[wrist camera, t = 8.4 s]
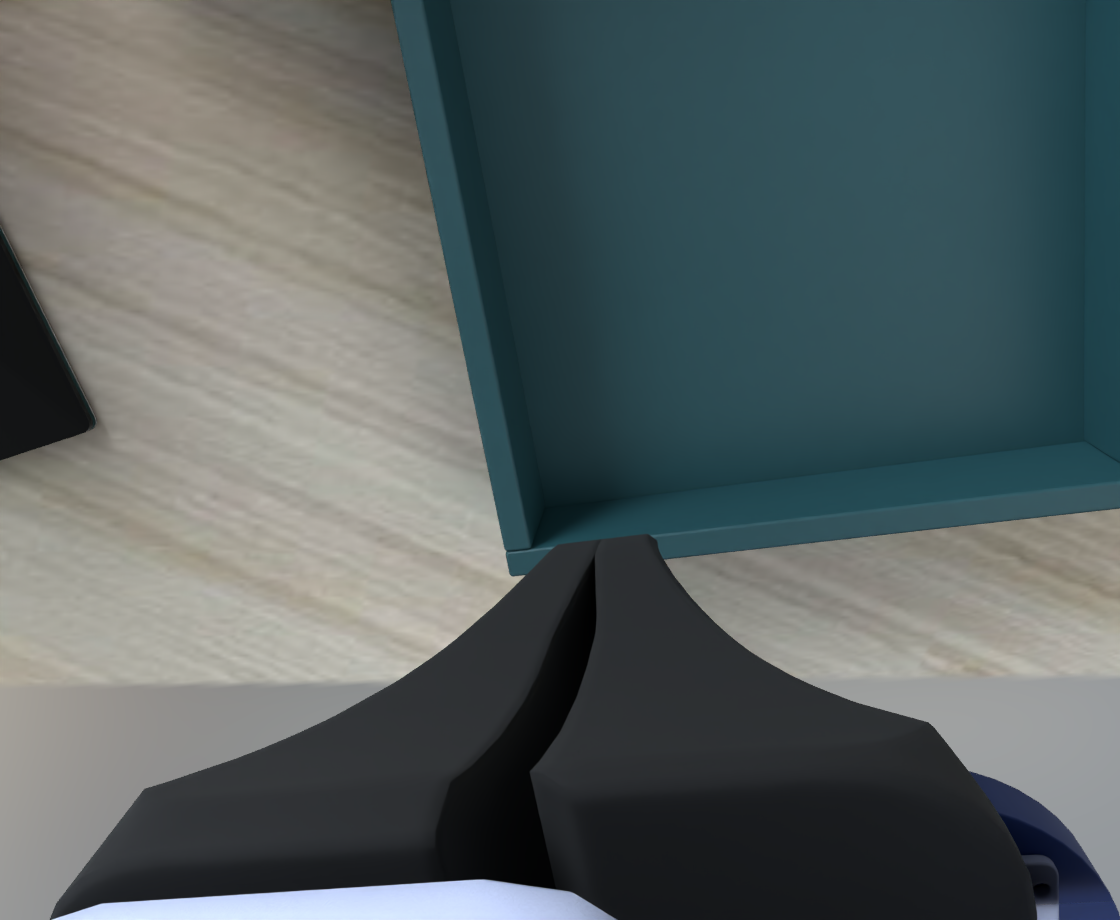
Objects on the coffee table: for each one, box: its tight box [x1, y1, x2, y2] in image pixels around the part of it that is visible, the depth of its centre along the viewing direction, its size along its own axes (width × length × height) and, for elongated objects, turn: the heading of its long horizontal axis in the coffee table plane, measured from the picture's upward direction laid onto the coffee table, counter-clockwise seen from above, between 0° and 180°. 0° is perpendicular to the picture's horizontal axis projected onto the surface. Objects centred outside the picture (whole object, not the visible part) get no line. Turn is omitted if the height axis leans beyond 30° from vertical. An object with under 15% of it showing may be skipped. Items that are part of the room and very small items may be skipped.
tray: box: [391, 0, 1120, 576], centre depth 17 cm, size 16×13×3 cm
